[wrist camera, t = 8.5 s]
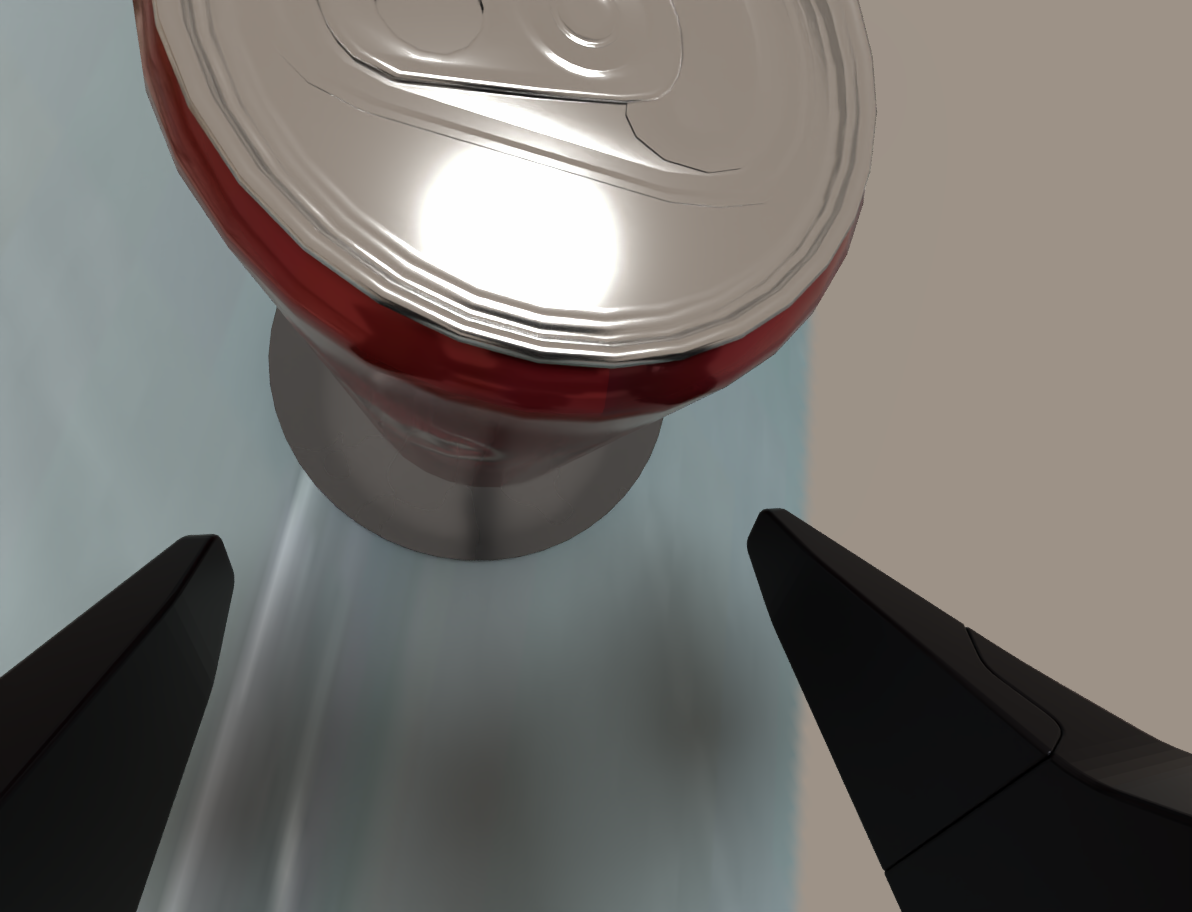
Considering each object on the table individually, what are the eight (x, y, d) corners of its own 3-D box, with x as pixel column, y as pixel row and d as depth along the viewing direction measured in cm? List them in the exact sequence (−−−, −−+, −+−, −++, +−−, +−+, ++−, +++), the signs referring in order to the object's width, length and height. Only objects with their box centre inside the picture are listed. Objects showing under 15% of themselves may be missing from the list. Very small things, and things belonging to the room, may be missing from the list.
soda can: (590, 262, 18) (854, -229, 6) (612, 479, 17) (957, 390, 5) (353, 254, 16) (76, -499, 4) (367, 500, 15) (84, 431, 3)
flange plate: (699, 494, 19) (710, 493, 18) (341, 615, 15) (335, 621, 14) (601, 176, 19) (607, 162, 18) (228, 222, 15) (217, 206, 15)
